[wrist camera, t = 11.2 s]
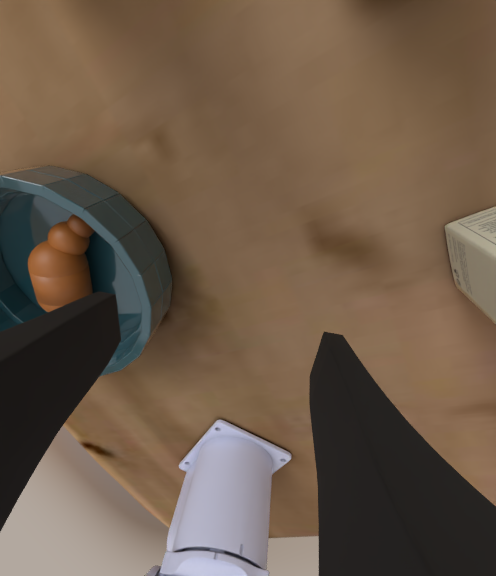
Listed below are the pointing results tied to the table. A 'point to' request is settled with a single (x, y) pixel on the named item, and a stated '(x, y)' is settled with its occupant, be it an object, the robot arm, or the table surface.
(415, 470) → the robot arm
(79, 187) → the bowl
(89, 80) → the table surface
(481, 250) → the cosmetic box
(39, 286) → the croissant
